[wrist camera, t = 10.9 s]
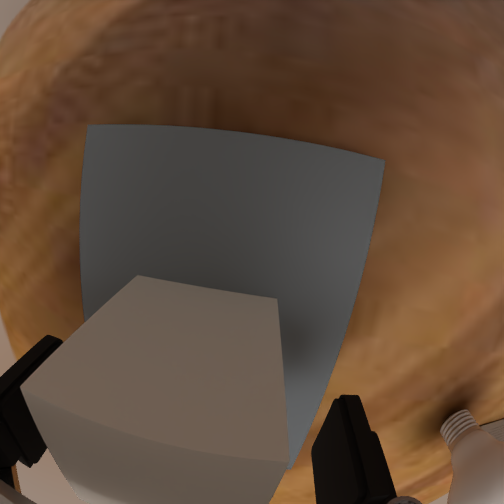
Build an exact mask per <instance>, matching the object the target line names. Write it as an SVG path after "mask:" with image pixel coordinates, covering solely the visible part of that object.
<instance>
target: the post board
mask: <svg viewBox="0 0 504 504" xmlns="http://www.w3.org/2000/svg"><path fill="white" fill-rule="evenodd" d="M384 166H385V160H382V159H379V158H375V157H371V156H367V155H363V154H359V153H355V152H351V151H346V150H342V149H337V148H333V147H328V146H323V145H318V144H313V143H308V142H303V141H297V140H291V139H286V138H280V137H273V136H267V135H260V134H252V133H245V132H237V131H228V130H219V129H208V128H197V127H183V126H166V125H136V124H103V125H88V128H87V135H86V142H85V150H84V159H83V170H82V182H81V198H80V272H81V289H82V301H83V311H84V320H85V322H86V321H87V320H88V319H89V318H90V317H91V316H92V315H93V314H94V313H96V312H97V311H98V310H99V309H100V308H101V307H102V306H103V305H104V304H105V303H106V302H108V301H109V300H110V299H111V298H112V297H113V296H114V295H115V294H116V293H118V292H119V291H120V290H121V289H122V288H123V287H124V286H126V285H127V284H128V283H129V282H130V281H131V280H132V279H133V278H135V277H136V276H137V275H140V276H145V277H150V278H156V279H161V280H166V281H172V282H177V283H183V284H189V285H194V286H200V287H206V288H212V289H218V290H224V291H230V292H236V293H243V294H249V295H256V296H262V297H269V298H276V299H277V302H278V313H279V324H280V336H281V347H282V360H283V372H284V385H285V398H286V412H287V427H288V442H289V458H290V462H289V464H288V466H287V468H286V469H291V468H292V466H293V464H294V462H295V460H296V458H297V456H298V454H299V451H300V449H301V447H302V445H303V443H304V441H305V438H306V436H307V434H308V432H309V429H310V427H311V425H312V422H313V420H314V417H315V415H316V413H317V410H318V408H319V405H320V403H321V400H322V398H323V395H324V393H325V390H326V387H327V385H328V382H329V379H330V377H331V374H332V371H333V368H334V366H335V363H336V360H337V357H338V354H339V351H340V348H341V345H342V342H343V339H344V336H345V333H346V330H347V327H348V323H349V320H350V317H351V314H352V310H353V307H354V303H355V300H356V296H357V293H358V289H359V285H360V282H361V278H362V274H363V270H364V266H365V262H366V258H367V254H368V249H369V245H370V241H371V236H372V232H373V227H374V222H375V217H376V212H377V207H378V202H379V196H380V191H381V185H382V179H383V172H384Z"/></svg>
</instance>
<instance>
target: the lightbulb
mask: <svg viewBox="0 0 504 504" xmlns="http://www.w3.org/2000/svg"><path fill="white" fill-rule="evenodd" d="M440 433H441V435H442V437H443V438H444V441H445V442H446V444H447V446H448V448H449V450H450V452H451V464H452V469H453V479H452V483H451V487H450V490H449V495H448V501H447V504H504V442H503V441H499V440H497V439H495V438H494V437H493V436H492V435H491V434H490V433H488V432H486V431H484V430H482V429H481V428H480V426H478V423H476V420H475V419H474V418H473V416H472V415H471V413H470V412H469V410H466V409H465V410H460V411H458V412H455V413H453V414H451V415H450V416H449V417H448V418H447V419H446V421H445V422H444V423H443V425H442V427H441V429H440Z"/></svg>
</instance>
